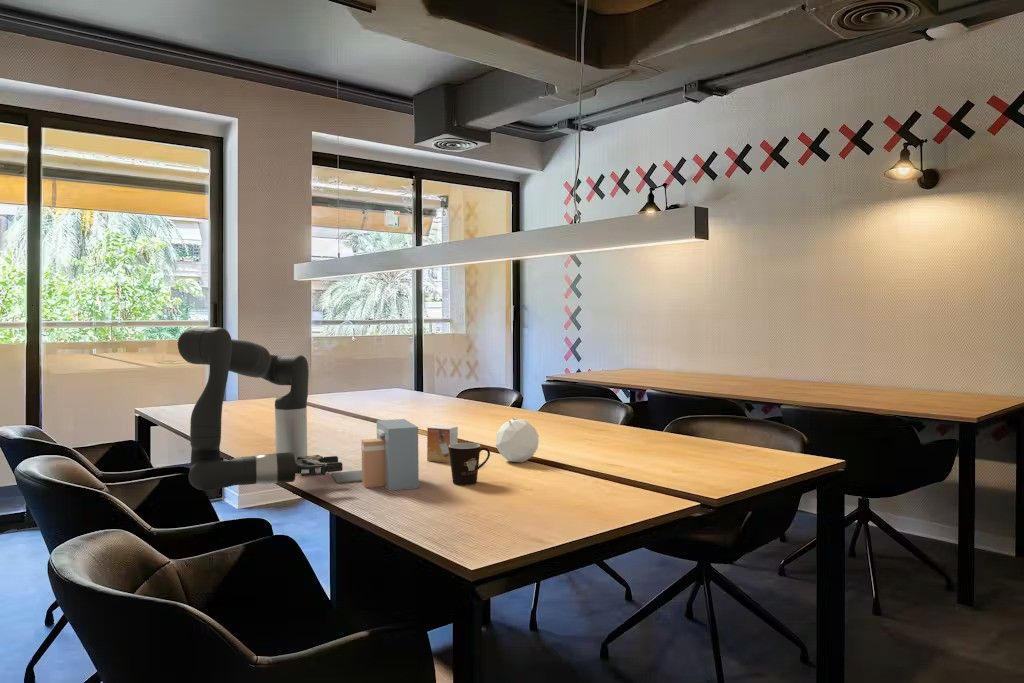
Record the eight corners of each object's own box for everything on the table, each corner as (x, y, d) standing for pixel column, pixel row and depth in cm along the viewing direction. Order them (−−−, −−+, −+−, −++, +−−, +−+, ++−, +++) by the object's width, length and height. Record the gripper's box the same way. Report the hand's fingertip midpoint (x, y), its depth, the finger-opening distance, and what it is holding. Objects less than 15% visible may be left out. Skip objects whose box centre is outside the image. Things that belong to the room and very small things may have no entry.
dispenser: (374, 478, 201) (373, 420, 201) (404, 475, 204) (404, 418, 204) (385, 491, 186) (384, 429, 186) (418, 488, 189) (418, 427, 189)
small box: (426, 461, 224) (426, 427, 223) (435, 458, 229) (435, 424, 229) (450, 463, 221) (449, 428, 220) (458, 459, 226) (457, 426, 226)
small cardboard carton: (361, 484, 194) (361, 439, 194) (384, 482, 196) (384, 438, 196) (364, 487, 190) (363, 442, 190) (387, 485, 192) (387, 440, 192)
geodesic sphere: (527, 450, 211) (536, 409, 218) (483, 447, 215) (493, 407, 223) (539, 471, 222) (547, 432, 229) (497, 468, 227) (506, 430, 234)
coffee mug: (449, 486, 190) (449, 449, 190) (447, 479, 199) (447, 443, 199) (493, 485, 192) (493, 447, 192) (489, 477, 201) (489, 442, 200)
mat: (331, 474, 206) (331, 472, 206) (370, 471, 210) (370, 469, 210) (337, 483, 195) (337, 481, 195) (378, 480, 199) (378, 478, 199)
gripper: (276, 458, 177) (343, 453, 183) (273, 448, 190) (336, 444, 196) (276, 489, 177) (344, 483, 183) (273, 477, 191) (336, 471, 197)
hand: (340, 463), depth 190 cm, fingers open, 8 cm apart
